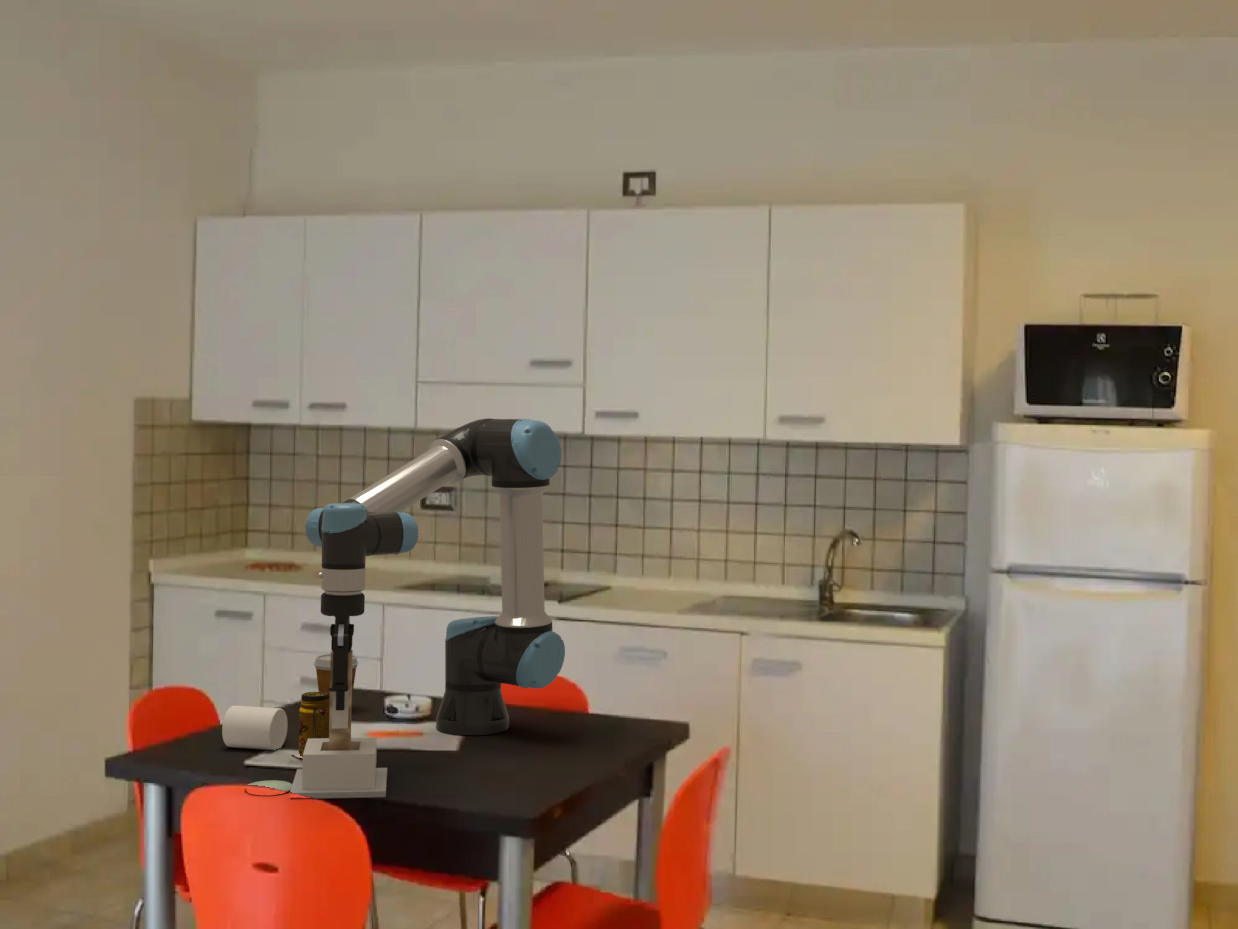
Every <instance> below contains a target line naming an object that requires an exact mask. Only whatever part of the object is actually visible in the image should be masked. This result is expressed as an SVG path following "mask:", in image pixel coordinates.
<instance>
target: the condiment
mask: <svg viewBox="0 0 1238 929" xmlns="http://www.w3.org/2000/svg"><path fill="white" fill-rule="evenodd" d="M329 697H330V696H329V694H328V693H326V692H319V691H308V692H304V693H302V694H301V703H300V705H301V706H300V708H299V710H298V754H300V756H302V757H303V753H304V749H305V746H306V743H307V740H308V739H310V738H329V715H330V706H329V704H330V701H329Z"/></svg>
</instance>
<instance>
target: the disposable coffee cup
mask: <svg viewBox="0 0 1238 929" xmlns="http://www.w3.org/2000/svg"><path fill="white" fill-rule="evenodd" d="M330 661H331V653H330V654H329V653H328V654H321V655H317V656H316V658H315V660H314V662H313V665H314V667H315V671H316V680H317V688H318V691H317V692H326V693H328V694H329V696H330V692H329V688H330ZM358 666H359V661H358V659H357V656H356V655H355V654H354V655H353V656H352V680H353V685H352V695H353V694H354V686H355V680H356V679H355V678H356V671H357V667H358ZM329 701H330V697H329ZM329 706H330V704H329Z"/></svg>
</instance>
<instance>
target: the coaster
mask: <svg viewBox="0 0 1238 929" xmlns="http://www.w3.org/2000/svg"><path fill="white" fill-rule="evenodd" d="M292 784H293V783H292V782H289V781H285V780H275V779H273V780H271V779H270V780H261V781H253V782H251V783H249V784H247V785H258V786H265V787H270V788H275V789H278V790H282V791H291V787H292Z"/></svg>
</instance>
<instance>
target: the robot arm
mask: <svg viewBox="0 0 1238 929" xmlns="http://www.w3.org/2000/svg"><path fill="white" fill-rule="evenodd" d="M561 462H562V448H561V443H560V440H559V437H558V435H557V433H556V432H555V431H554V430H552V428H551V426H549V424H548V423H545V422H544V421H540V420H534V419H530V418H480V419H477V420H476V419H475V420H474V421H470V422H468V423H466V424H464V425H461V426H459V427H457V428H455V429H453V430H451V431H449V432H447V433H446V434H443V435H442V436H441V437H439V438H437V439H435V440H434V441H432V442H431V444H429V447H428V450H427V451H425V452H424V453H422V454H420V455H419V456H417V457H416V458H414V459H412V460H411V461H408V463H406V464H404V465H402V466H401V467H399V468H397V469H396V470H394V471H392V472H391V473H389V474H388V475H386V476H384V477H383V478H381V479H379V480H377V481H376V482H373V484H371V485H369V486H368V487H366V488H365V489H362V490H361V491H360V492H358V493H356V494H354V495H353V496H351V497H350V498H348V499H346V500H344V501H342V502H341V503H340V502H339V503H337V502H335V503H328V504H327V505H325V506H324V507H317V508H315V509H314V510H312V511H311V512H310V513H309V514H308V516H307V518H306V521H305V527H304V529H305V530H304V531H305V533H306V534H305V535H306V538H307V539H308V541H309V543H311V544H312V545H313V546H314V547H318V548H321V572H318V573H317V578H318V579H322V580H321V586H320V587H321V588H320V589H321V590H323V591H324V592H323V593H321V595H320V613H321V615H323V616H326V617H334V623H331V625H330V628H329V629H330V630H329V632H330V633H329V634H330V637H331V645H330V646H331V651H333V685H332V688H329V692H333V693H332V729H344V728H348V695H349V690H348V653H349V652H350V651H351V650H353V637H354V632H355V624H354V623H351V621H350V620H351V617H358V616H362V615H364V613H365V601H366V600H365V598H366V597H365V596H366V595H365V594H364V593H363V591H364V590H365V589H366V570H367V569H366V559H367V558H366V557H370V556H382V555H384V556H385V555H396V556H397V555H399V554H402V553H403V554H405V553H408V552H411V550H414V548H415V546H416V545H417V544H418V543H417V542H418V540H419V535H420V534H419V525H418V523H417V521H416V519H415V518H414V517H413V515H411V514H409V513H407V512H404V511H405V510H407V509H408V508H410V507H412V506H413V505H415V504H417V503H418V502H419V501H421V500H423V499H424V498H426V497H428V496H429V495H431V494H432V493H434V492H436V491H437V490H439V489H441V488H442V487H444V486H445V485H447V484H448V483H449V484H457V483H459V482H461V481H463V480H464V479H466V478H470V477H476V476H487V477H490V476H491V488H492V489H493V491H495V492H496V493H497V495H498V496H499V525H500V528H499V529H500V533H499V534H500V567H501V568H500V570H501V573H500V574H501V575H500V576H501V609H502V610H501V614H500V615H499V616H498V615H494V616H493V615H491V616H490V615H489V616H476V617H468V618H460V619H454V620H451V621H450V622H449V623H448V624H447V626H446V632H445V634H446V636H445V640H444V641H445V643H444V644H445V647H444V649H445V655H444V656H445V666H444V667H445V670H444V671H445V672H444V673H445V680H444V681H445V682H444V683H445V686H444V689H445V690H444V693H443V696H442V698H441V702H440V704H439V709H438V710H437V713H436V714H437V715H436V718H435V719H436V720H435V722H436V723H435V728H436V730H438V731H439V730H440V731H439V732H443V733H445V734H446V733H447V734H451V735H452V734H453V735H461V736H484V735H493V734H497V733H499V734H500V733H502V732H505V731H507V730H508V729H509V728H510V717H509V713H508V709H507V707H506V703H505V700H504V697H503V692H502V684H506V685H509V686H510V685H511V686H515V687H516V686H517V687H520V688H523V689H529V688H530V689H543V688H545V687H547V686H549V685H551V684H552V683H553V682H554V681H555V679H556V678H557V677H558V674H560V672H561V670H562V668H563V666H564V662H565V656H566V647H565V646H566V645H565V642H564V640H563V639H562V637H561V635H559V634H558V633H557V632H555V631H553V618H552V617H550V616H549V614H548V613H547V612H546V611H545V608H546V607H545V572H544V571H545V570H544V567H545V566H544V564H545V562H544V522H543V520H544V518H543V517H544V516H543V512H544V510H543V508H544V507H543V494H544V493H545V492H546V491H547V489H548V488H550V483H551V482H550V479H551V478H553V476H555V475H556V474H557V472H558V471H559V469H558V467H560V466H561ZM352 685H353V680H352Z"/></svg>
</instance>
